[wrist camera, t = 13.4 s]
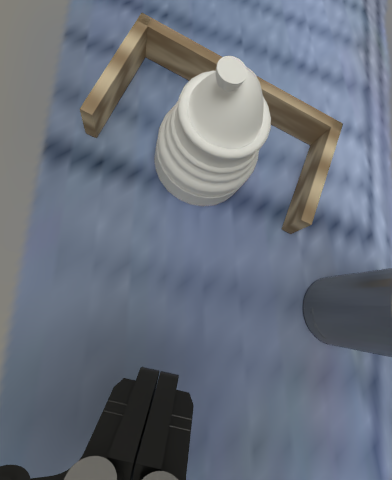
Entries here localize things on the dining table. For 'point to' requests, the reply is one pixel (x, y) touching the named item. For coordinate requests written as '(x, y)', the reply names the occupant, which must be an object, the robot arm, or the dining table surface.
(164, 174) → the honey pot
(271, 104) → the oak bay
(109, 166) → the dining table surface
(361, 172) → the dining table surface
